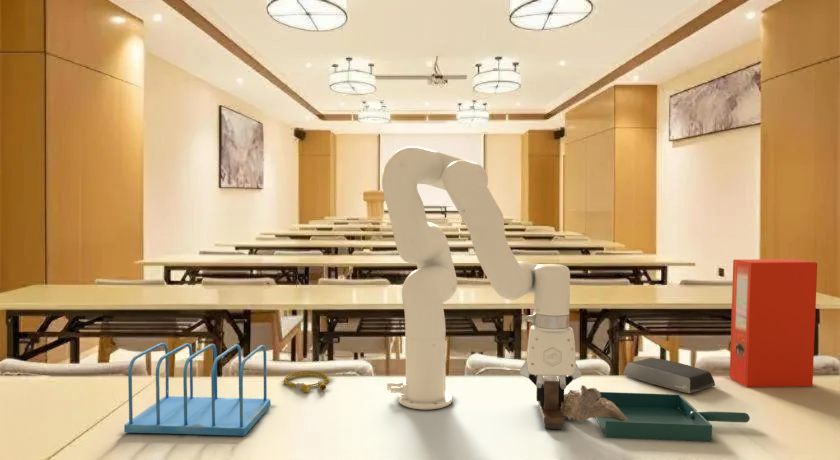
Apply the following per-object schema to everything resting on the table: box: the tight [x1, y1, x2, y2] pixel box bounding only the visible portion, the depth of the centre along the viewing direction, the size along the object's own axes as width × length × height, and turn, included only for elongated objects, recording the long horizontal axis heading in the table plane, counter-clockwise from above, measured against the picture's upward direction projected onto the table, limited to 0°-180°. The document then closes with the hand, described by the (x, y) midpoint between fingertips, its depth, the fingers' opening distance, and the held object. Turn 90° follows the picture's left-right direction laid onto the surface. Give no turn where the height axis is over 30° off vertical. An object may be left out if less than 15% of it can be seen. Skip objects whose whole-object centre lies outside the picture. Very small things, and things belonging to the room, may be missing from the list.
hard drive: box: [622, 357, 716, 394], centre depth 154 cm, size 13×19×4 cm
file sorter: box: [123, 342, 272, 437], centre depth 126 cm, size 25×17×15 cm
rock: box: [560, 384, 628, 422], centre depth 126 cm, size 6×14×7 cm, turn 57°
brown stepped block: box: [537, 375, 565, 430], centre depth 127 cm, size 4×14×9 cm, turn 174°
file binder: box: [729, 258, 818, 388], centre depth 153 cm, size 8×17×32 cm, turn 93°
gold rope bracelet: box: [283, 370, 330, 393], centre depth 152 cm, size 12×16×2 cm
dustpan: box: [595, 391, 751, 442], centre depth 125 cm, size 31×19×3 cm, turn 84°
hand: (550, 403), depth 128 cm, fingers closed on brown stepped block, 3 cm apart
